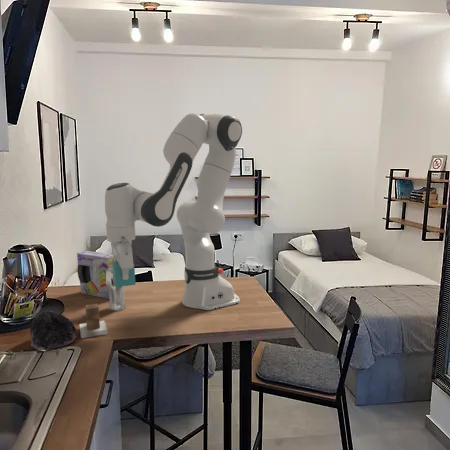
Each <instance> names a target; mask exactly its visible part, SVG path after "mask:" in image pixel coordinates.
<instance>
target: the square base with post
mask: <svg viewBox="0 0 450 450" xmlns="http://www.w3.org/2000/svg"><path fill="white" fill-rule="evenodd" d="M84 308H85V322H84V323H80V324H79V334H80V339H86V338H91V337H97V336H106V335H108V328H107V325H106V321H105V320H100V307H99V305H98V303H92V304H86V305H85V307H84Z"/></svg>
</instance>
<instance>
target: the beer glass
mask: <svg viewBox="0 0 450 450" xmlns="http://www.w3.org/2000/svg"><path fill="white" fill-rule="evenodd" d="M106 286H107V291H108V295H109V299H108V310H109V311H112V312H119V311H123V310H125V309H126V303H125V298H124V297H125V290H126V286H122V287H115V285H114V282H113V271H112V268H108V269H107V270H106Z"/></svg>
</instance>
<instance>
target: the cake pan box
mask: <svg viewBox="0 0 450 450" xmlns="http://www.w3.org/2000/svg"><path fill="white" fill-rule="evenodd" d="M76 255H77V256H76V258H77V269H76V270H77V277H78V280H79V285H80V288H79V289H80V293H81V294H85V295H89V296H94V297H96V298H101V299H102V298H103V299H107V300H109V295H108V291H107V286H106V270H107V269H108V268H112V262H117V261H116V259H115V257H114V255H113V254H109V253H103V252H98V251H91V250H83V251H79V252H77V253H76Z"/></svg>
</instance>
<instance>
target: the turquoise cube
mask: <svg viewBox="0 0 450 450" xmlns="http://www.w3.org/2000/svg"><path fill="white" fill-rule="evenodd" d="M112 271H113V282H114V285H115V287H122V286H125V287H128V286H135V285H136V271H135V264H134V263H133V268H132V269H129V274H128V276H129V279H128V280H123V278H122V269H121V267H120V266H119V264H118V262H117V261H116V262H112Z"/></svg>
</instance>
